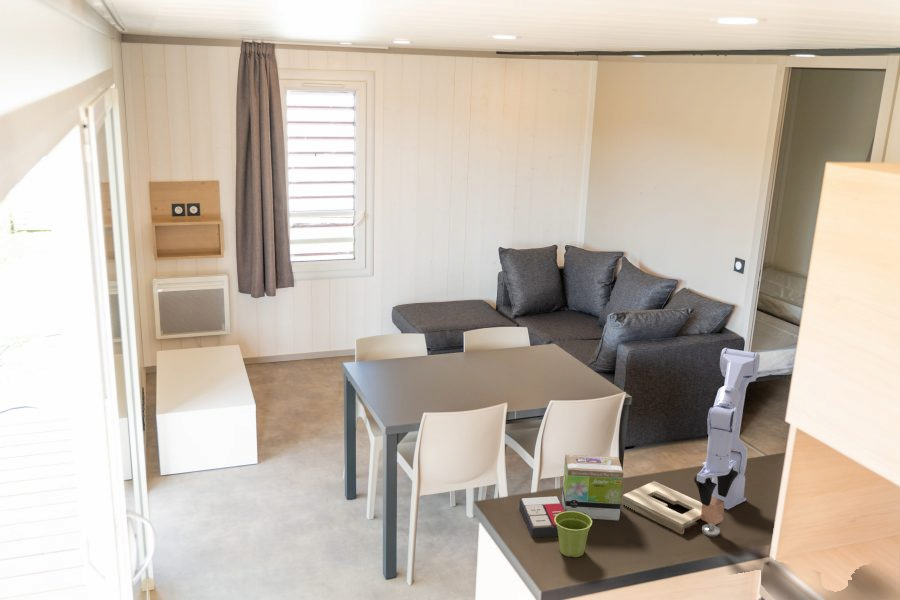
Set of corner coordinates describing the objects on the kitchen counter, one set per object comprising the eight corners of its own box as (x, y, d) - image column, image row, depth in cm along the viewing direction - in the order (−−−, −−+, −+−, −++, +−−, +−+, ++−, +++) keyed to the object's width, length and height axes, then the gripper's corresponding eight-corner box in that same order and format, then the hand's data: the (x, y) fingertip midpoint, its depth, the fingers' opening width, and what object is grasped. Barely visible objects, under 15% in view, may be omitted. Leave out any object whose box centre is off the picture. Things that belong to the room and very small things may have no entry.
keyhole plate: (653, 490, 233) (654, 481, 232) (712, 518, 217) (713, 508, 217) (622, 504, 224) (622, 494, 224) (681, 534, 209) (682, 524, 208)
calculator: (532, 526, 206) (519, 496, 220) (531, 541, 207) (518, 509, 221) (573, 523, 207) (558, 493, 221) (572, 538, 208) (557, 507, 223)
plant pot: (545, 549, 201) (546, 518, 199) (571, 537, 207) (572, 507, 205) (572, 566, 194) (573, 534, 192) (598, 553, 200) (600, 522, 198)
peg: (708, 526, 213) (711, 495, 211) (722, 533, 210) (725, 501, 208) (698, 531, 211) (701, 500, 208) (712, 538, 207) (716, 506, 205)
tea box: (564, 519, 216) (567, 469, 213) (561, 501, 226) (564, 453, 222) (620, 521, 215) (623, 471, 212) (615, 503, 225) (618, 455, 221)
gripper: (721, 439, 212) (716, 486, 215) (688, 453, 203) (684, 501, 207) (745, 448, 207) (739, 496, 210) (712, 463, 198) (707, 512, 201)
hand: (713, 499), depth 208 cm, fingers open, 7 cm apart
